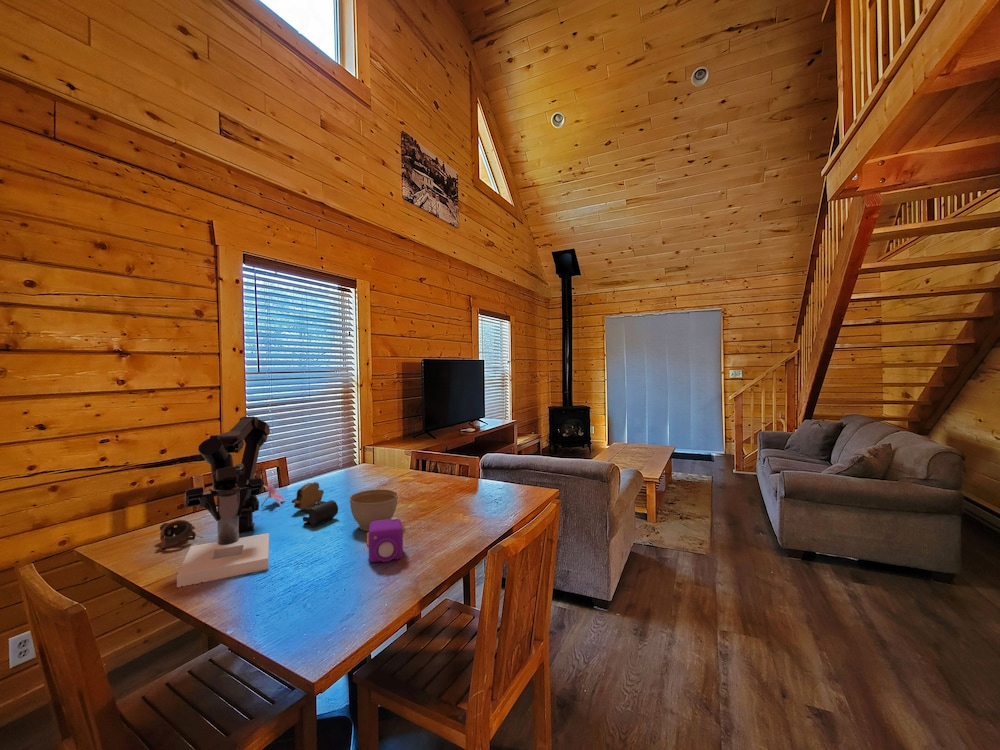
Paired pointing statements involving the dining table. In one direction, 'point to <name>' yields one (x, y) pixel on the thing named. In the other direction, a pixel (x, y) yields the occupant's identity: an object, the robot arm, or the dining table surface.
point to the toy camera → (385, 540)
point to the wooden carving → (308, 495)
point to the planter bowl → (373, 506)
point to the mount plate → (224, 560)
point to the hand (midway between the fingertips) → (228, 517)
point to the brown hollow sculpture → (175, 532)
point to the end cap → (320, 513)
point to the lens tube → (228, 515)
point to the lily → (273, 493)
